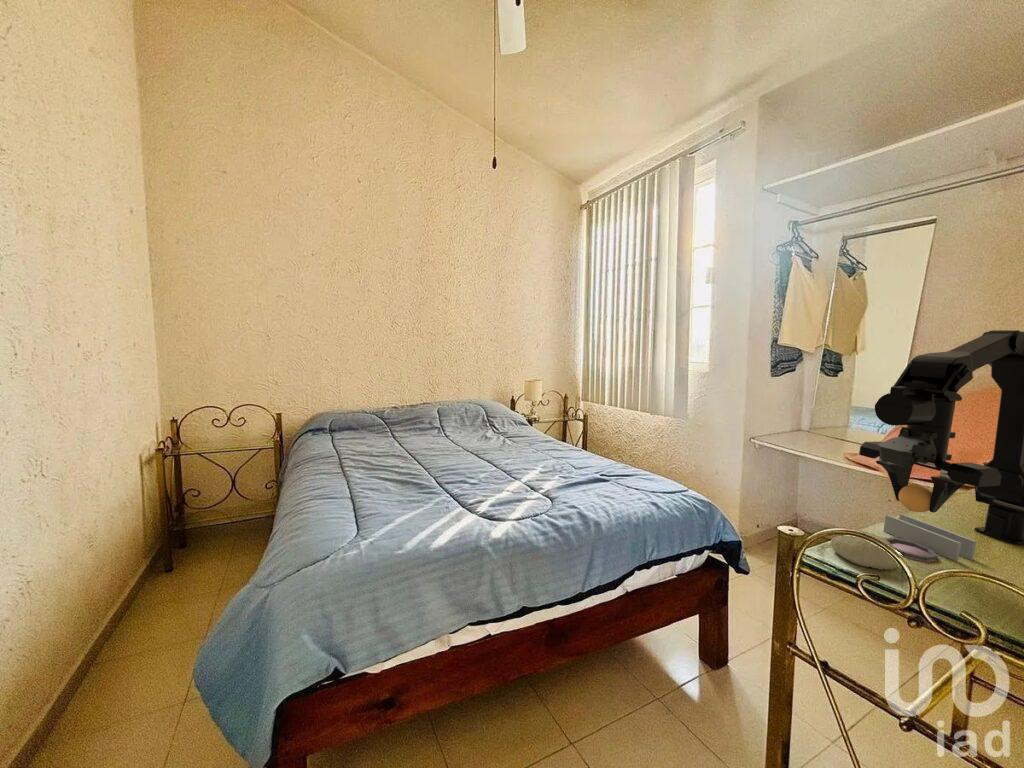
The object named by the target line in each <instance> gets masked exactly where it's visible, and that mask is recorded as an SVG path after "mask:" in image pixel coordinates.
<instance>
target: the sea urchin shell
mask: <svg viewBox="0 0 1024 768" xmlns="http://www.w3.org/2000/svg"><path fill="white" fill-rule="evenodd" d="M846 530H857V531H860V532H862V533H864V534H868V535H871V536H873V537H875V538H877V539H879V540H881V541H883V542H884V543H886V544H887V545H889V546H890V547H892V548H893V549H895V548H894V547H893V545H892V544H891V543H890V542H888V541H887V540H886V539H884V538H885V537H882V536H879V535H876V534H874V533H871V532H868V531H865V530H862V529H857V528H855V529H854V528H852V529H851V528H849V529H846ZM832 537H833V536H832ZM832 537H831V541H830V544H831V547H832V549H833V551H835V552H836V553H837V554H838V555H839V556H841V557H842V558H844V559H845V560H846V561H849V562H851V563H853V564H854V563H855V565H857V564H858V565H857V566H860V565H861V566H860V567H865V566H866V567H865V568H868V567H872V569H876V568H878V569H877V570H883V569H888V570H887V571H889V569H891V570H893V569H895V568H897V566H898V564H897V563H896V561H895V560H894V559H893V558H892V557H891V556H890V555H889V554H888V553H887V552H886V551H884V550H883V549H881V548H879V547H878V546H875V545H873V544H871V543H870V542H868V541H866V540H864V539H862V538H859V537H853V536H836V537H833V538H832ZM895 550H896V549H895Z"/></svg>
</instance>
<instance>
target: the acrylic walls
mask: <svg viewBox="0 0 1024 768" xmlns="http://www.w3.org/2000/svg"><path fill="white" fill-rule="evenodd" d="M883 532H884V533H887V534H890V535H892V536H893V537H895V538H899V539H904V540H908V541H913V542H916V543H918V544H920V545H923V546H925V547H928V548H930V549H931V550H933V551H934V552H935V553H936V555H940V556H942V557H944V558H947V559H949V560H951V561H954V562H958V561H959V557H960V556H961V557H964V558H966V559H969V560H973V561H974V560H975V559H974V558H975V553H976V548H977V542H978V541H977V540H973V539H971V538H968V537H966V536H963V535H961V534H958V533H955V532H953V531H949V530H947V529H944V528H941V527H939V526H936V525H935V524H931V523H928V522H925V521H923V520H920V519H917V518H915V517H913V516H909V515H907V514H904V513H900V514H899V518H897V517H894V516H892V515H889V514H885V518H884V524H883Z"/></svg>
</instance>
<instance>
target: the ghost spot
mask: <svg viewBox="0 0 1024 768" xmlns="http://www.w3.org/2000/svg"><path fill="white" fill-rule="evenodd" d="M883 538H884V539H886V540H887V541H888V542H890V543H891V544H892V545H893V547H894V548H895V549H896V550H897V551H898V552H900V553H901V554H902V555H903V556H904V557H903V556H902V557H903V558H908V559H910V560H915V561H920V562H925V563H926V562H928V563H929V562H930V563H931V562H932V563H933V562H936V561H937V560H938V554H937V553H935V552H934V551H933V550H931V549H930V548H928V547H925V546H923V545H920V544H918V543H916V542H913V541H908V540H904V539H901V538H899V537H896V536H893V537H892V536H891V537H883Z"/></svg>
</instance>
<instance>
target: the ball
mask: <svg viewBox="0 0 1024 768" xmlns="http://www.w3.org/2000/svg"><path fill="white" fill-rule="evenodd" d="M931 496H932V490H930V489H929V488H927V487H925V486H923V485H920V484H908V485H907V486H905V487H903V488H902V489H901V490H900V492H899V500H900V501H899V502H900V503H901V505H902V506H903V507H904V508H906V509H907V510H909V511H911V512H914V513H915V512H916V513H926V512H928V511H929V512H930V500H931Z"/></svg>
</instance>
